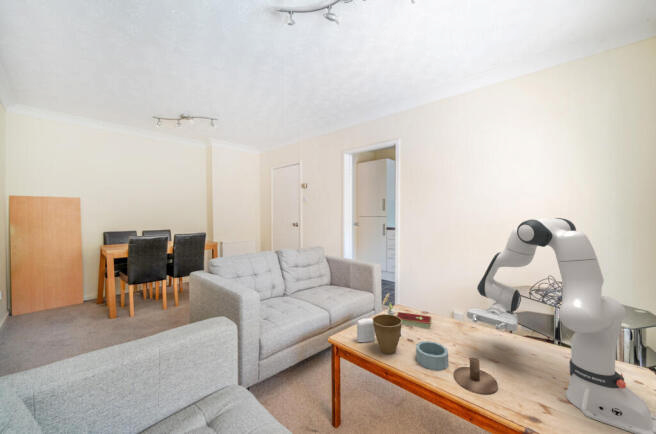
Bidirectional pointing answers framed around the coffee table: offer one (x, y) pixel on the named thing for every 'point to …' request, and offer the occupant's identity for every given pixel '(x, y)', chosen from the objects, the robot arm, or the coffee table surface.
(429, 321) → the hardcover book
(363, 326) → the photo printer
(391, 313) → the flower in vase
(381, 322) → the plant pot
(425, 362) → the ceramic bowl
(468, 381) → the walnut lid
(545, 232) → the robot arm
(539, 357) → the coffee table surface
